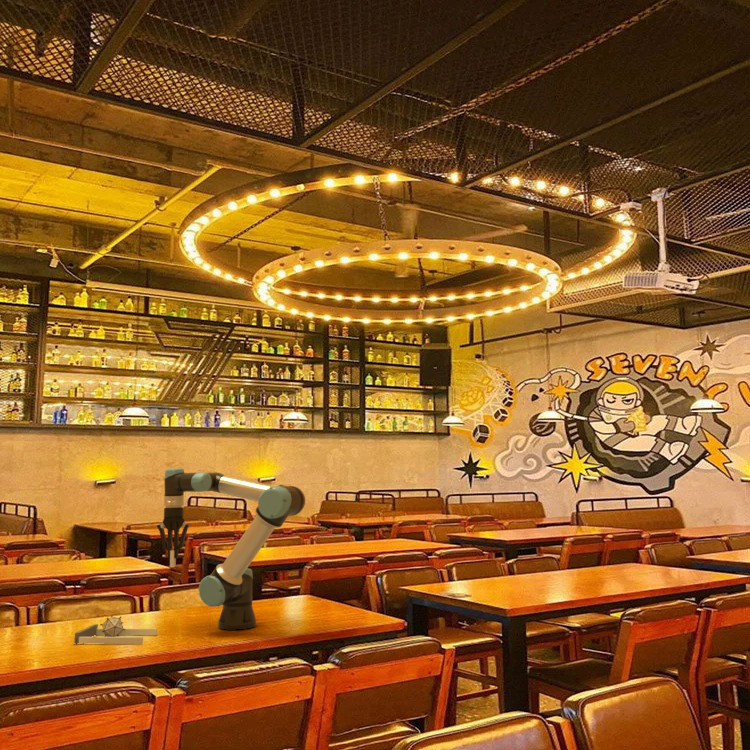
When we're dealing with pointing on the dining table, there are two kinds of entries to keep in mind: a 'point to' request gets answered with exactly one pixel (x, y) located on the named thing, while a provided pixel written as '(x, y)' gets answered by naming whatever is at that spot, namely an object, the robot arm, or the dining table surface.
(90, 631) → the tan piece
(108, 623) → the game die
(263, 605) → the dining table surface
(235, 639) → the dining table surface
